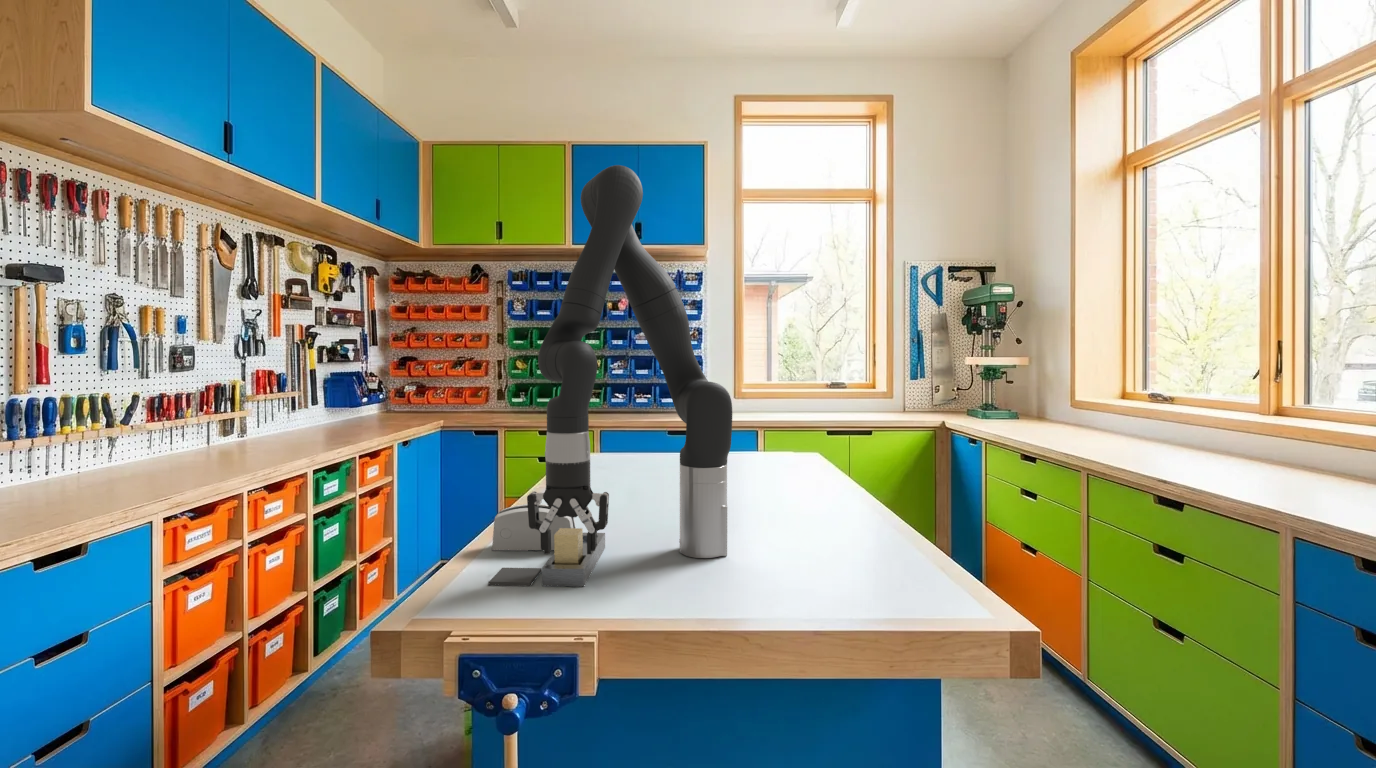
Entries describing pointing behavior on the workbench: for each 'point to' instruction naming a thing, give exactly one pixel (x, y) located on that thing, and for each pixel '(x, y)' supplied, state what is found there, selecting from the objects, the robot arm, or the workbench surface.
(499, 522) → the white arched device
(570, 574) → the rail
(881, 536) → the workbench surface
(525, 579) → the pad
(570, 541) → the tan wooden beam
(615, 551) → the workbench surface
